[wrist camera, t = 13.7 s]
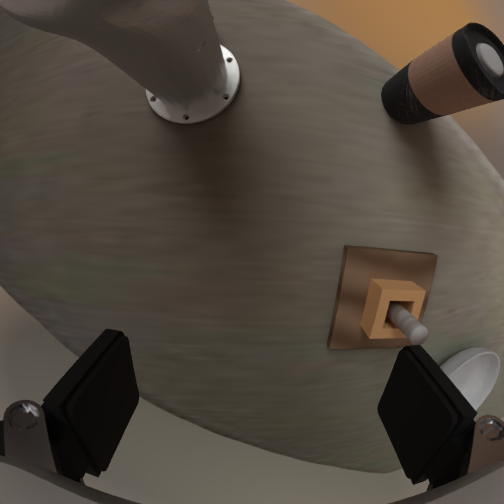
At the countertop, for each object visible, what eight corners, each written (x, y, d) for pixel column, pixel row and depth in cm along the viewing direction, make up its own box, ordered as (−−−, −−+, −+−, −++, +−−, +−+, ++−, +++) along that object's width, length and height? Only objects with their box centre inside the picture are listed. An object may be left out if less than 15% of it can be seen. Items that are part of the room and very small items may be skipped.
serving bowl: (386, 415, 44) (397, 438, 37) (442, 327, 39) (463, 346, 32) (448, 415, 45) (460, 433, 38) (496, 341, 40) (513, 355, 33)
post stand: (344, 245, 36) (378, 270, 25) (432, 253, 36) (479, 275, 25) (326, 343, 39) (346, 392, 28) (409, 341, 39) (443, 380, 28)
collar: (370, 278, 35) (382, 288, 32) (412, 281, 35) (425, 290, 32) (360, 324, 37) (369, 338, 33) (400, 324, 37) (411, 337, 33)
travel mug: (428, 126, 32) (528, 102, 12) (386, 127, 32) (485, 92, 13) (415, 78, 30) (501, 32, 10) (372, 77, 30) (452, 12, 11)
